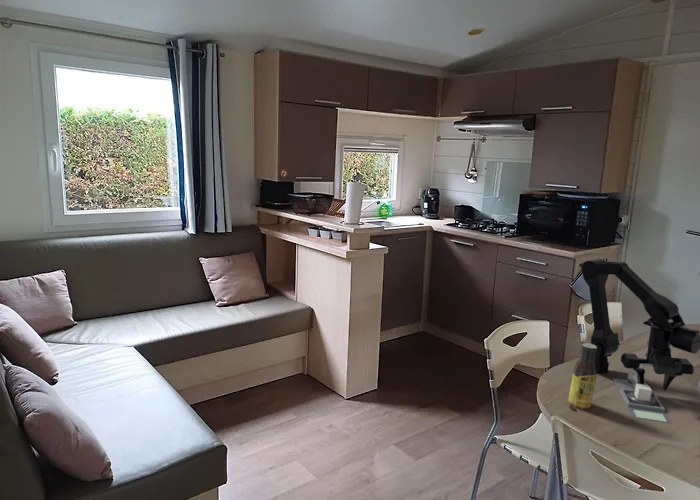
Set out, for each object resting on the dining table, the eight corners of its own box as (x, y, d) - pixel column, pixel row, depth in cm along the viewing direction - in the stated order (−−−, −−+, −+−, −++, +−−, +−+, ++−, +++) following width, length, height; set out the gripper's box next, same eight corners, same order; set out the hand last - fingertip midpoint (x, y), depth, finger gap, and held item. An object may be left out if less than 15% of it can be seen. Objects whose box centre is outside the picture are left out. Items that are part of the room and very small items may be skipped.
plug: (631, 405, 153) (634, 390, 152) (625, 393, 160) (628, 379, 159) (657, 409, 151) (660, 394, 150) (650, 397, 158) (653, 383, 157)
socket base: (632, 420, 147) (633, 414, 146) (612, 381, 170) (613, 375, 170) (670, 427, 144) (672, 419, 144) (645, 386, 168) (646, 380, 167)
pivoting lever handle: (633, 394, 158) (634, 386, 157) (626, 379, 168) (627, 370, 168) (642, 396, 157) (644, 387, 157) (634, 380, 168) (636, 372, 167)
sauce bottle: (576, 414, 149) (586, 350, 145) (562, 403, 155) (571, 342, 150) (595, 412, 151) (605, 349, 146) (581, 401, 157) (590, 340, 152)
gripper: (632, 349, 151) (626, 397, 154) (704, 355, 146) (696, 405, 150) (623, 335, 162) (617, 380, 165) (690, 341, 157) (683, 387, 160)
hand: (652, 388), depth 160 cm, fingers open, 6 cm apart
